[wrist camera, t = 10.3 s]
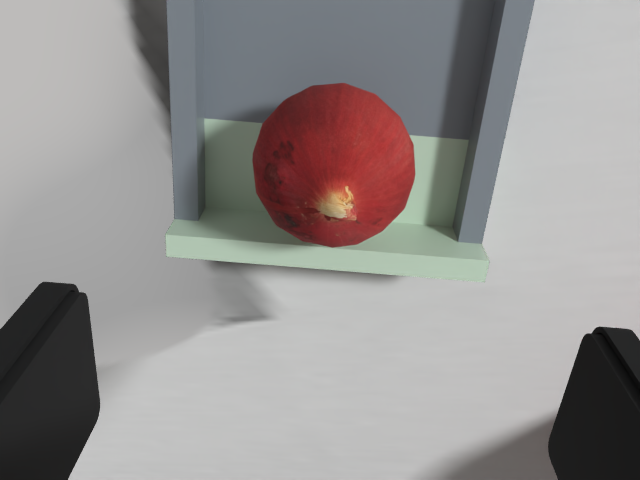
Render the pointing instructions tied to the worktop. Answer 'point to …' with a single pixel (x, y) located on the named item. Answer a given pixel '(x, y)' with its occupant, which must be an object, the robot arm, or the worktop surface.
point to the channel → (359, 71)
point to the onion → (333, 165)
